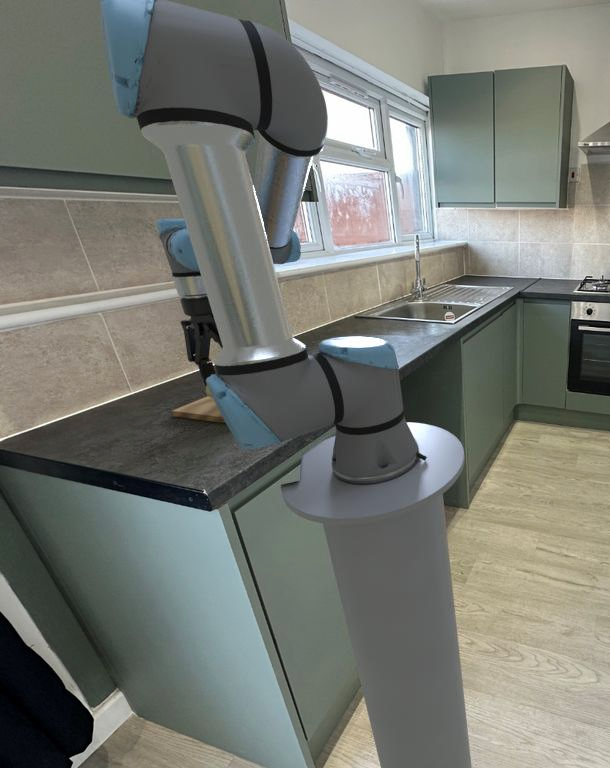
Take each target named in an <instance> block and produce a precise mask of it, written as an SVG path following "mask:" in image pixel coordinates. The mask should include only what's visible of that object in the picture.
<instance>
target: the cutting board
mask: <svg viewBox="0 0 610 768" xmlns="http://www.w3.org/2000/svg"><path fill="white" fill-rule="evenodd" d="M171 413H172V415H173V417H174V418H183V419H190V420H197V421H206V422H212V423H213V422H214V423H219V424H221V423H222V424H226V422H225V421H224V419H223V417H222V415H221V413H220V411H219V409H218V407H217V405H216V404H215V401H214V399H213V398H212V397H209V396H208V395H206V396H204V397H203V398H199V399H197V400H195V401H193V402H190V403H188V404H185V405H182V406H180V407H178V408H176V409H173V410H172V411H171Z"/></svg>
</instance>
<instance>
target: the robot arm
mask: <svg viewBox="0 0 610 768" xmlns="http://www.w3.org/2000/svg"><path fill="white" fill-rule="evenodd" d="M99 9H100V21H101V29H102V37H103V44H104V49H105V56H106V57H105V58H106V62H107V69H108V74H109V81H110V84H111V85H110V87H111V90H112V95H113V98H114V102H115V107H116V110H117V112H118V113H119V114H120V115H122V116H125V117H127V118H129V119H131V120H134V119H136V120H137V122H138V126H139V130H140V133H141V136H142V137H143V138H144V139H145V140H146V141H148V142H149V143H151V144H152V145H154V146H155V147H156V148H157V149H159V150H160V151H161V152H162V153H163V155H164V158H165V162H166V165H167V168H168V171H169V176H170V178H171V181H172V185H173V189H174V191H175V194H176V197H177V201H178V204H179V207H180V211H181V214H182V218H161V219H158V220H157V221H156V226H157V231H158V238H159V240H161V245H162V247H163V250H164V253H165V256H166V259H167V262H168V265H169V268H170V270H171V275H172V279H173V283H174V286H175V289H176V293H177V295H178V296H180V297H181V298H180V300H179V302H180V304H181V308H182V311H183V313H184V315H185V316H187V317H190V318H187V319H182V320H181V321H180V325H181V328H182V331H183V333H184V334H183V335H184V341H185V349H186V354H187V361H188V362H190V363H194V364H195V366H197V367H198V371H199V373H200V376H201V378H202V380H203V384H204V386H205V388H206V386H208V387H209V390H210V393H211V395H212V397H213V399H214V401H215V404H216V405H217V407H218V409H219V411H220V413H221V415H222V417H223V419H224V421H225V422H226V423H225V424H226V426H227V428H228V430H229V431H230V433H231V434H232V436H233V437H234V439H235V440H236V442H237V443H238V445H240V446H241V447H242V448H244V449H245V450H249V451H250V450H251V451H253V450H259V449H262V448H263V449H264V448H267V447H269V446H274V445H280V444H282V443H283V442H287V441H289V440H292V439H295V438H298V437H301V436H304V435H307V434H310V433H313V432H316V431H319V430H322V429H324V428H327V427H331V426H333V425H334V426H335V435H334V436H335V442H334V448H333V455H332V469H333V473H334V475H335V477H336V478H337V479H338V480H340V481H342V482H344V483H348V484H352V485H372V484H379V483H383V482H387V481H390V480H393V479H395V478H398V477H400V476H402V475H404V474H405V473H407V472H408V471H410V470H411V469H412V468H413V467H414V466H415V465H416V464H417V462H418V460H419V458H420V459H422V460H424V461H425V460H426V458H427V457H426V456H424V455H422V454H421V453H419V446H418V444H417V441H416V440H415V438H414V436H413V434H412V432H411V430H410V428H409V426H408V424H407V419H406V417H405V411H404V403H403V395H402V388H401V379H400V372H399V368H400V366H399V363H398V359H397V355H396V350H395V348H394V345H392V344H391V343H390V342H389V341H387V340H384V339H381V338H378V337H377V338H376V337H367V336H339V337H331V338H327V339H323V340H322V341H320V342H319V344H318V348H317V350H318V352H317V353H313V354H308V353H309V352H308V349H307V346H306V344H305V343H303V342H301V341H300V340H299V339H296V338H295V337H294V336H293V335H292V332H291V331H292V330H291V328H290V324H289V319H288V316H287V312H286V308H285V303H284V300H283V295H282V292H281V288H280V284H279V281H278V276H277V271H276V268H275V265H285V264H289V263H295V262H297V261H299V260H300V259H301V256H302V252H301V249H302V247H301V241H300V237H299V235H298V233H297V231H296V230H295V229H294V228H295V225H296V221H297V217H298V213H299V210H300V206H301V203H302V199H303V195H304V192H305V187H306V184H307V180H308V177H309V173H310V169H311V166H312V162H313V158H314V157H316V156H318V155H319V154H320V153H321V152H322V151H323V149H324V146H325V143H326V139H327V135H328V129H329V117H328V109H327V103H326V99H325V96H324V93H323V90H322V87H321V85H320V82H319V80H318V78H317V76H316V74H315V72H314V71H313V69H312V67H311V66H310V64H309V63H308V61H307V60H306V58H305V57H304V56H303V55H302V54H301V52H300V51H299V50H298V49H297V48H296V47H295V46H294V45H293V44H292V43H291V42H290V41H289V40H288V39H287V38H285V37H284V36H282V35H281V34H280V33H278V32H277V31H275V30H274V29H272V28H270V27H268V26H267V25H264V24H262V23H258V22H255V21H251V20H243V19H239V18H237V17H232V16H228V15H225V14H221V13H216V12H213V11H209V10H205V9H201V8H197V7H193V6H189V5H187V4H182V3H179V2H175V1H171V0H100V1H99ZM254 131H256V132H257V133H258V134H259V138H258V143H257V154H256V161H255V168H254V169H255V170H254V178H252V175H251V170H250V166H249V161H248V158H247V156H248V153H249V152H250V150H251V149H252V148H253V147H254V145H255V144H256V141H257V140H256V136H255V132H254ZM211 340H213V341H214V342H215V343H217V344H218V345H219V347H220V348H221V351H219V353H218V354H217V356H216V357H215V358H214V360H213V361H212V359H211V358H210V351H211ZM213 363H214V364H213Z"/></svg>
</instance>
